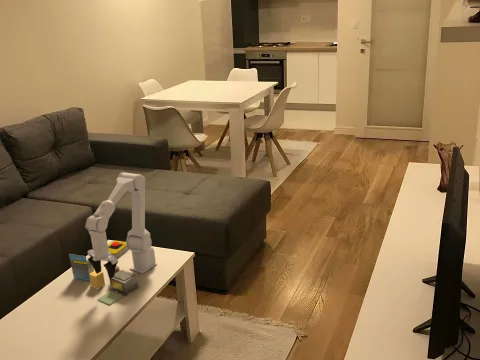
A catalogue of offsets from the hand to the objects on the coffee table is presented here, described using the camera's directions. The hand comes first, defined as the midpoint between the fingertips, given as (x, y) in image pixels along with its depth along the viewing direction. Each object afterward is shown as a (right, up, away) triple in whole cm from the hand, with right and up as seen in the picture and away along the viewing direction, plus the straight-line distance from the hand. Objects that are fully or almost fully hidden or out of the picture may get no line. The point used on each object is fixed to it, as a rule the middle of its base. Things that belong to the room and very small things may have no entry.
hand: (105, 274), depth 207 cm
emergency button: (-5, +3, +38) cm, 38 cm away
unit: (+6, -7, +7) cm, 12 cm away
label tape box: (-13, -5, +17) cm, 22 cm away
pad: (+2, -10, +1) cm, 10 cm away
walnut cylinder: (+1, -5, +13) cm, 14 cm away
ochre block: (-6, -6, +11) cm, 14 cm away
